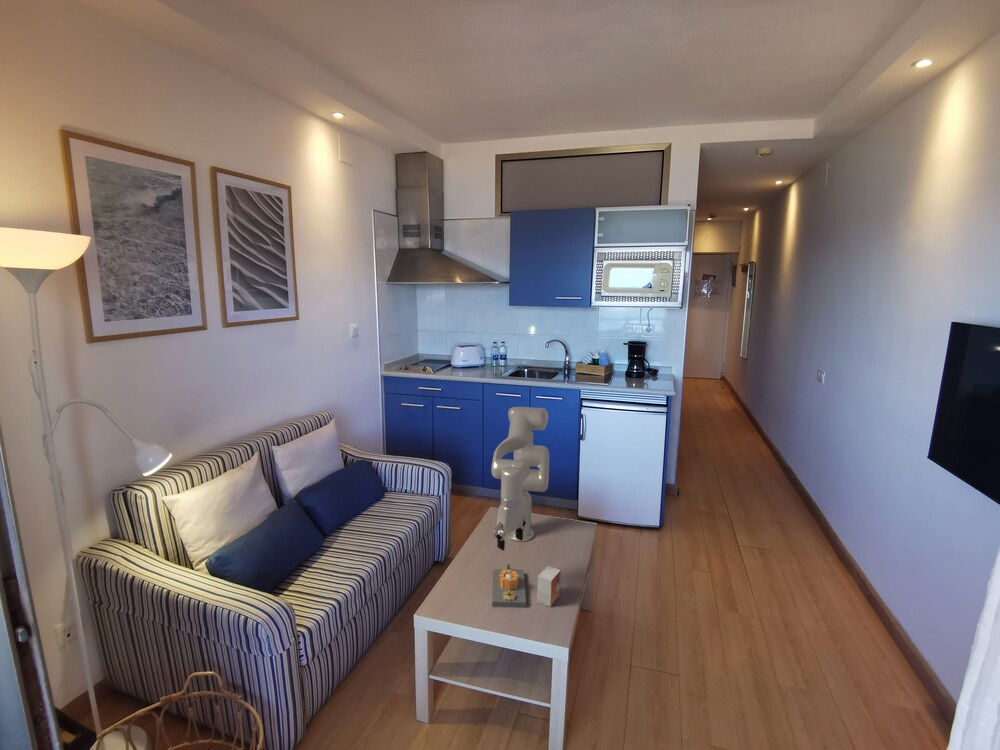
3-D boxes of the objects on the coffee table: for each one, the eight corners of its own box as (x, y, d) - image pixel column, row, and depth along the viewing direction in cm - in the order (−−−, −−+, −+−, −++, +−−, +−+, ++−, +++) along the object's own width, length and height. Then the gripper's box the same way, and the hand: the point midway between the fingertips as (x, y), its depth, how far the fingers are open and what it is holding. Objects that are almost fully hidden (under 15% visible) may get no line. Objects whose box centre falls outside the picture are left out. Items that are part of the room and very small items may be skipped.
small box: (550, 607, 175) (551, 581, 173) (536, 602, 178) (537, 575, 176) (560, 595, 182) (561, 570, 179) (546, 590, 184) (547, 565, 182)
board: (493, 573, 194) (493, 559, 193) (523, 574, 194) (523, 560, 193) (492, 606, 175) (492, 591, 173) (525, 607, 175) (526, 592, 173)
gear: (495, 584, 184) (495, 574, 183) (508, 576, 189) (508, 567, 188) (509, 593, 179) (509, 583, 178) (522, 584, 184) (522, 575, 183)
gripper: (519, 490, 187) (518, 531, 190) (486, 504, 175) (486, 548, 178) (534, 497, 181) (533, 539, 185) (501, 512, 169) (500, 557, 173)
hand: (510, 543), depth 182 cm, fingers open, 9 cm apart
